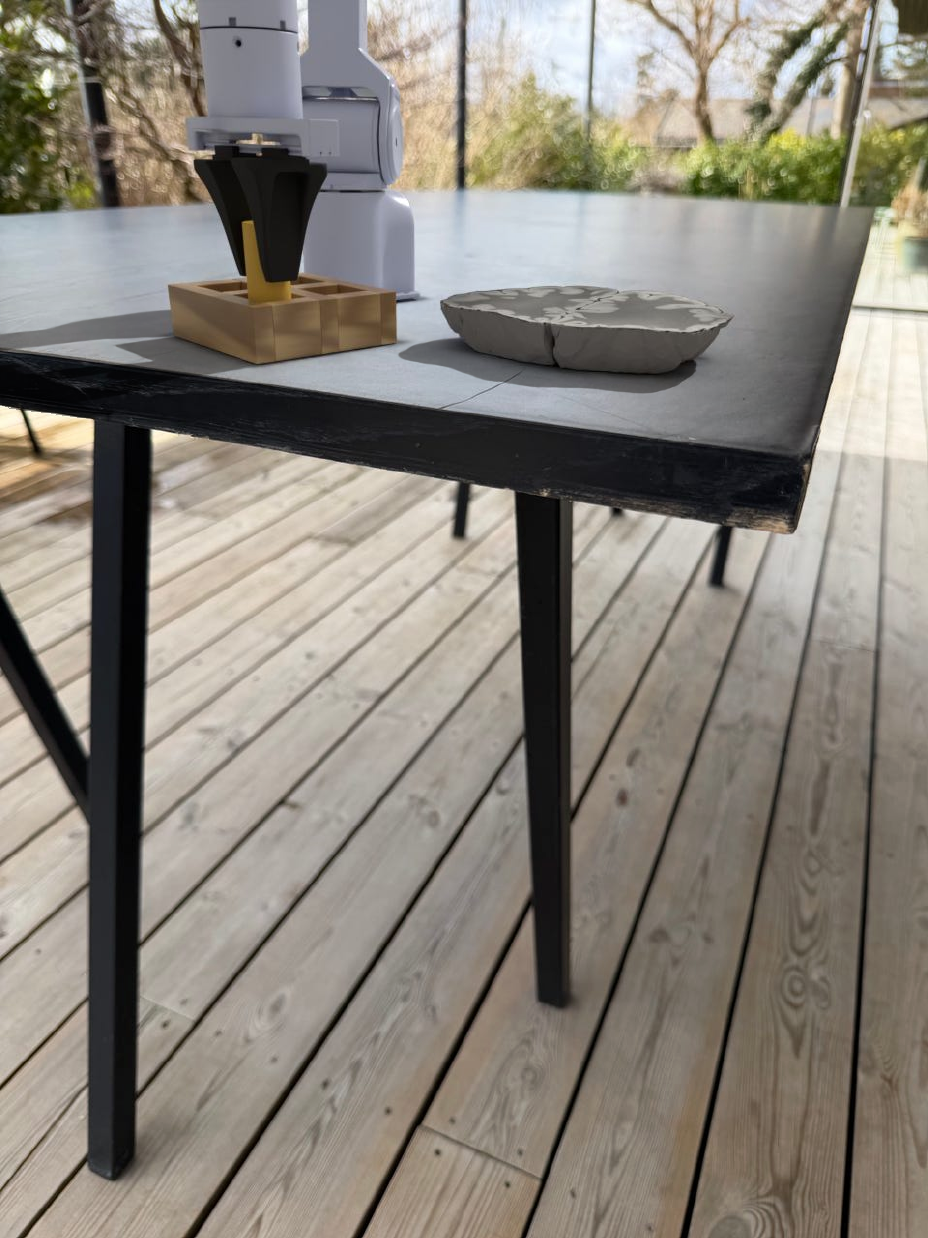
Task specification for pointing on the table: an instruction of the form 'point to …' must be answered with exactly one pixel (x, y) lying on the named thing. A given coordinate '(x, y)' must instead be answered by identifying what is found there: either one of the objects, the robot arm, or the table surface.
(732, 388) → the table surface
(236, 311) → the stand
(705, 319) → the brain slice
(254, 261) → the yellow peg
